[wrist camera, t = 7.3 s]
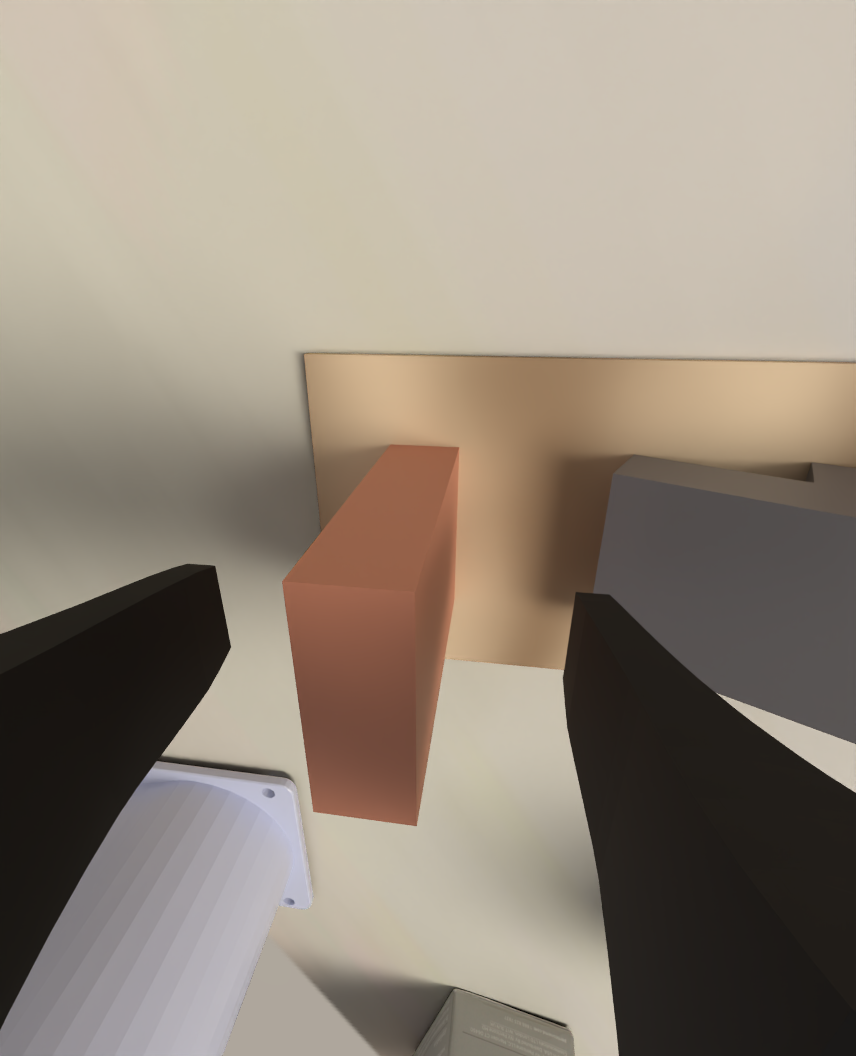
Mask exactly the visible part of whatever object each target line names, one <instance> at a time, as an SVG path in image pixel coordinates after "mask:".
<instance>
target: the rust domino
mask: <svg viewBox="0 0 856 1056" xmlns="http://www.w3.org/2000/svg"><path fill="white" fill-rule="evenodd" d="M458 475H459V447H440V446H416V445H393V444H390V446H389V447H388V448H387V449H386V451H385V452H384V453H383V454H382V456H381V457H380V458H379V459H378V461H377V462H376V463H375V465H374V466H373V467H372V468H371V470H370V471H369V472H368V473H367V475H366V476H365V477H364V478H363V480H362V481H361V482H360V484H359V485H358V486H357V487H356V489H355V490H354V491H353V492H352V494H351V495H350V496H349V497H348V499H347V500H346V501H345V503H344V504H343V505H342V506H341V508H340V509H339V510H338V511H337V513H336V514H335V515H334V516H333V518H332V519H331V520H330V522H329V523H328V524H327V525H326V527H325V528H324V529H323V530H322V532H321V533H320V534H319V535H318V537H317V538H316V539H315V541H314V542H313V543H312V544H311V546H310V547H309V548H308V549H307V551H306V552H305V553H304V554H303V556H302V557H301V558H300V560H299V561H298V562H297V563H296V565H295V566H294V567H293V568H292V570H291V571H290V572H289V573H288V575H287V576H286V577H285V579H284V580H283V581H282V584H283V591H284V599H285V606H286V613H287V621H288V628H289V635H290V643H291V650H292V657H293V665H294V672H295V679H296V687H297V694H298V701H299V709H300V716H301V723H302V731H303V738H304V745H305V753H306V760H307V767H308V775H309V782H310V789H311V797H312V804H313V812H318V813H326V814H333V815H340V816H347V817H355V818H362V819H369V820H376V821H383V822H391V823H398V824H405V825H412V826H417V821H418V815H419V809H420V803H421V797H422V791H423V785H424V779H425V773H426V767H427V761H428V755H429V749H430V743H431V737H432V731H433V725H434V719H435V713H436V707H437V701H438V695H439V689H440V683H441V677H442V671H443V665H444V659H445V653H446V647H447V641H448V635H449V629H450V623H451V617H452V611H453V605H454V599H455V568H456V537H457V506H458Z"/></svg>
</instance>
